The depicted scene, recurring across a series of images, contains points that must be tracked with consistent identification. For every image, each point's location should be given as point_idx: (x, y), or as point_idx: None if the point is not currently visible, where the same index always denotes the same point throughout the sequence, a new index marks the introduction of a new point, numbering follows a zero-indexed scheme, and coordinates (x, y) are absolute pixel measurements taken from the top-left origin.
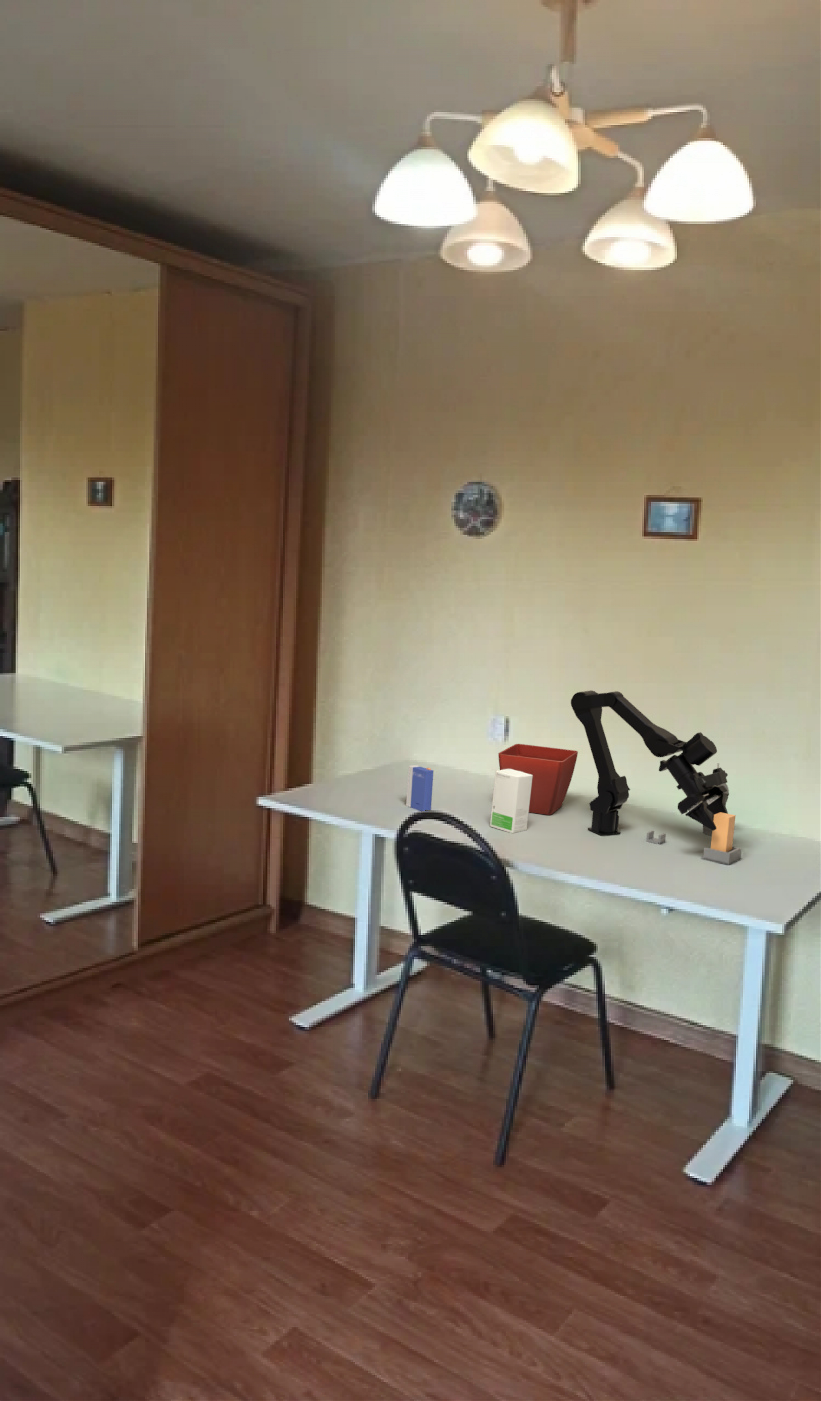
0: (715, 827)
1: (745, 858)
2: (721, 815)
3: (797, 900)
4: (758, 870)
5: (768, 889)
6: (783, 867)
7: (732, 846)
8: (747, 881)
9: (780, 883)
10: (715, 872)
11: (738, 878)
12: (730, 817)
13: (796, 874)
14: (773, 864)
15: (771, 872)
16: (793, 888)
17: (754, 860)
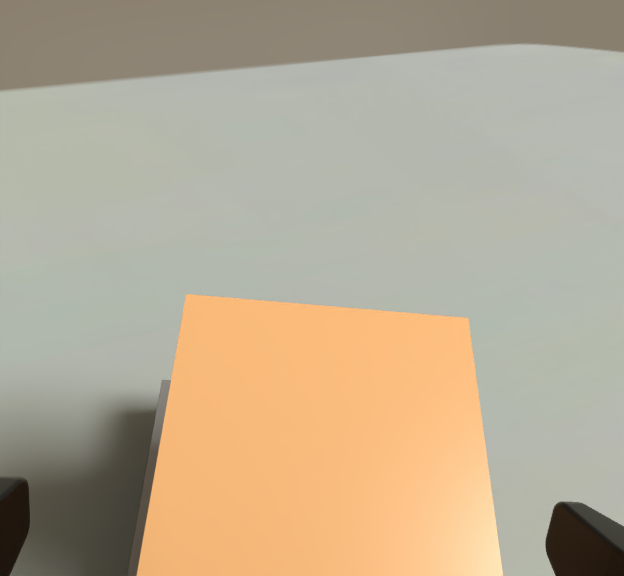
0: (593, 509)
1: (105, 390)
2: (426, 491)
3: (614, 65)
4: (338, 254)
5: (599, 155)
6: (163, 173)
7: (154, 457)
8: (584, 246)
9: (467, 137)
10: (611, 429)
11: (583, 292)
12: (416, 314)
13: (253, 112)
14: (135, 223)
15: (318, 198)
16: (486, 92)
17: (118, 328)
